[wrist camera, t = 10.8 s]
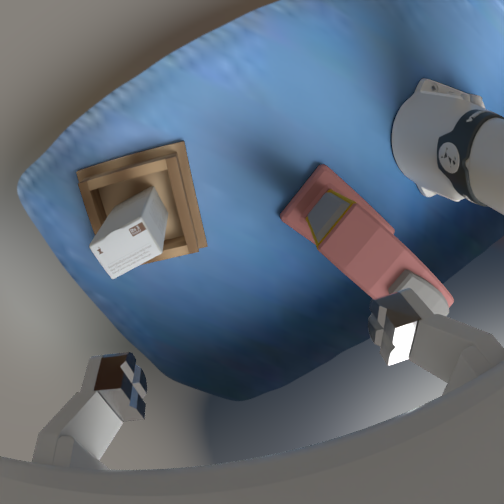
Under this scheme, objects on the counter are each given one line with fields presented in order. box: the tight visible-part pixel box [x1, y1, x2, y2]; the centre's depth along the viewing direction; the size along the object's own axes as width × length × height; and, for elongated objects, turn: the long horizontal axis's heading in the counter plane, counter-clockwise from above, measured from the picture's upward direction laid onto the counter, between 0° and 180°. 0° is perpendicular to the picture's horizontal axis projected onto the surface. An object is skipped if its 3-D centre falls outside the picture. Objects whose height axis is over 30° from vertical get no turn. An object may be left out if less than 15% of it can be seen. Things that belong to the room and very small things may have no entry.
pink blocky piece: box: [280, 164, 454, 316], centre depth 35 cm, size 22×9×22 cm, turn 53°
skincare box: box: [89, 186, 168, 279], centre depth 32 cm, size 6×4×12 cm
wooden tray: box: [76, 141, 208, 265], centre depth 37 cm, size 14×14×4 cm
